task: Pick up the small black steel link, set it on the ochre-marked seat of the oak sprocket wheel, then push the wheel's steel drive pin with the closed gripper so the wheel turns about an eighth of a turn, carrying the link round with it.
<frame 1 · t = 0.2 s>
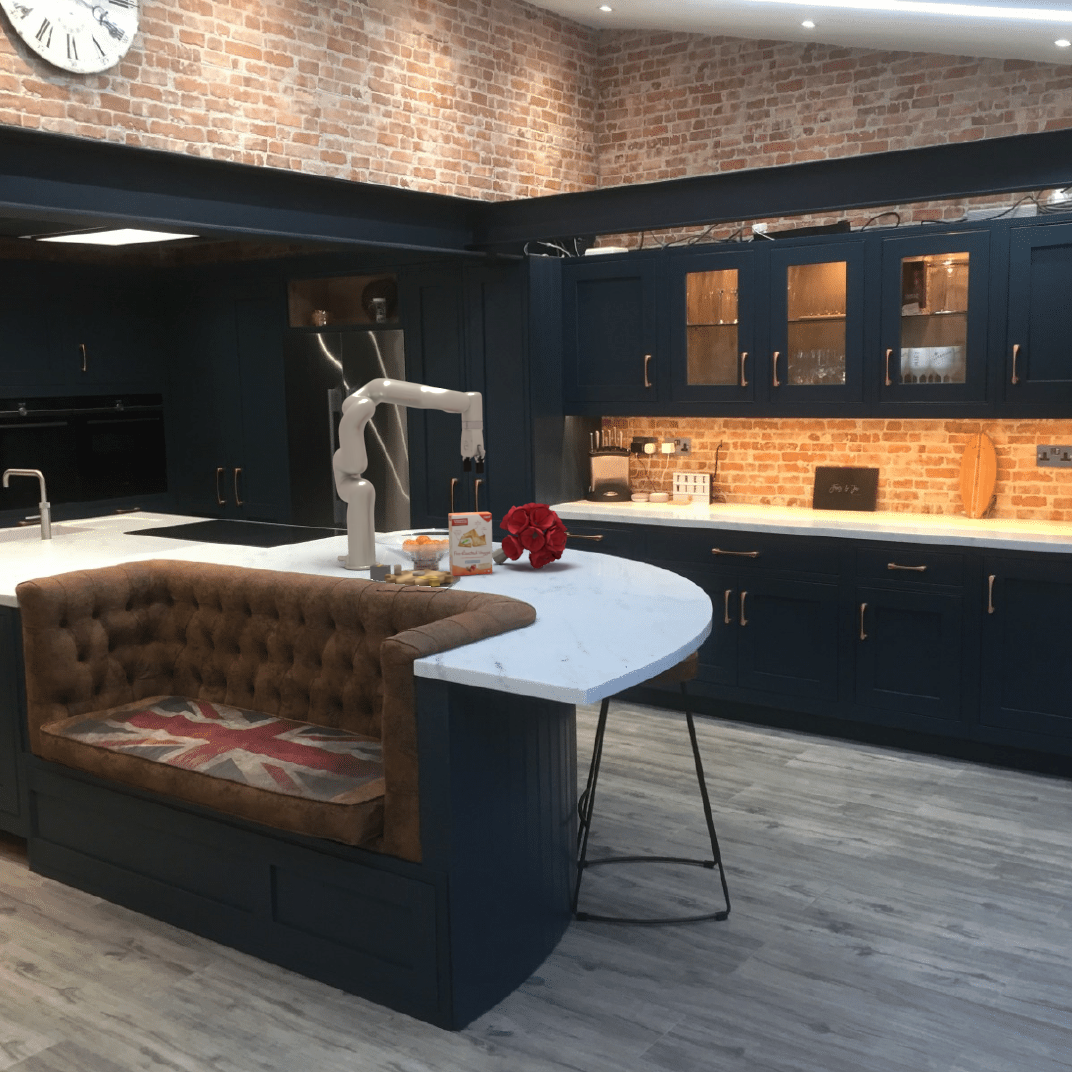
hand: (473, 472, 433), 31 cm above the counter, tool pointing down, fingers open, 9 cm apart
link: (380, 580, 389), on the counter
bouquet: (529, 567, 410), on the counter
bearing plate: (419, 585, 379), on the counter
cracker box: (471, 574, 398), on the counter
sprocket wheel: (418, 573, 378), point 4 cm above the counter, hinge at 0.0°
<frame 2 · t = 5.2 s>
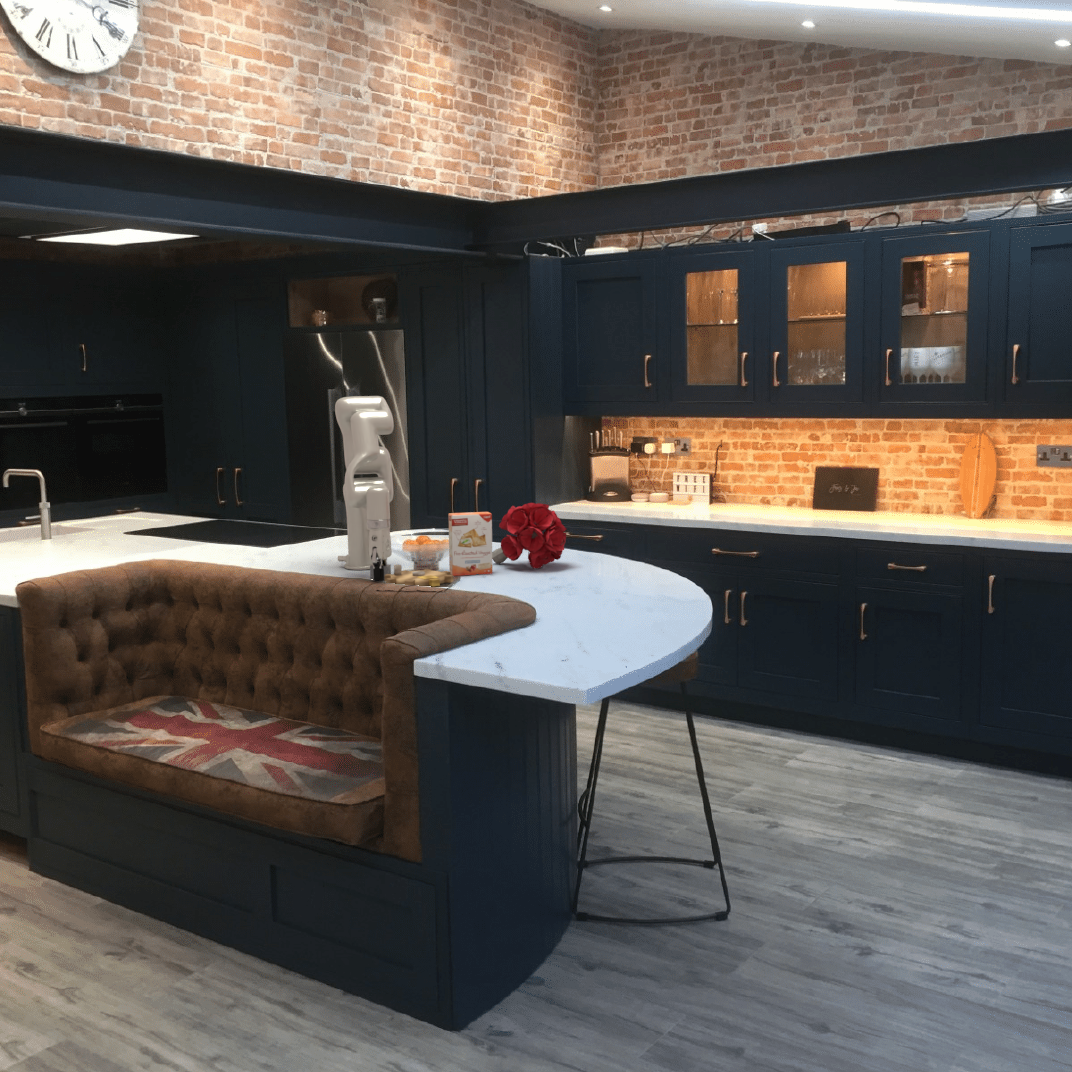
hand: (380, 578, 389), 0 cm above the counter, tool pointing down, fingers closed on link, 3 cm apart
link: (380, 580, 389), on the counter, touching gripper
everything else where it was.
when the fingers open (5 cm above the counter, at t = 9.1 s): link stays where it is, resting on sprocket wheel.
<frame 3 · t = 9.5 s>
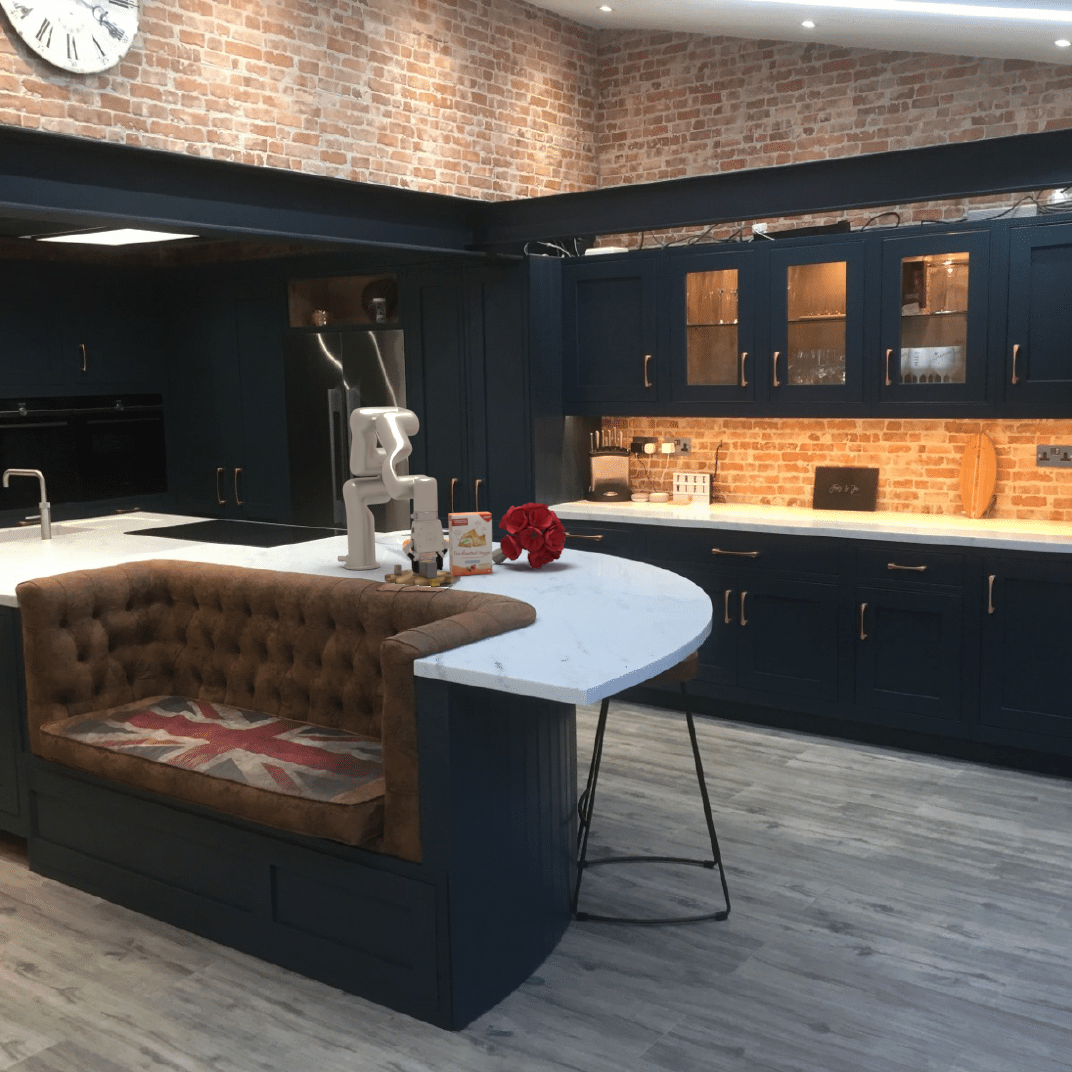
hand: (427, 570, 373), 5 cm above the counter, tool pointing down, fingers open, 8 cm apart
link: (427, 577, 373), point 3 cm above the counter, touching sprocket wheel
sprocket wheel: (418, 573, 378), point 4 cm above the counter, hinge at 0.0°, touching link
everything else where it was.
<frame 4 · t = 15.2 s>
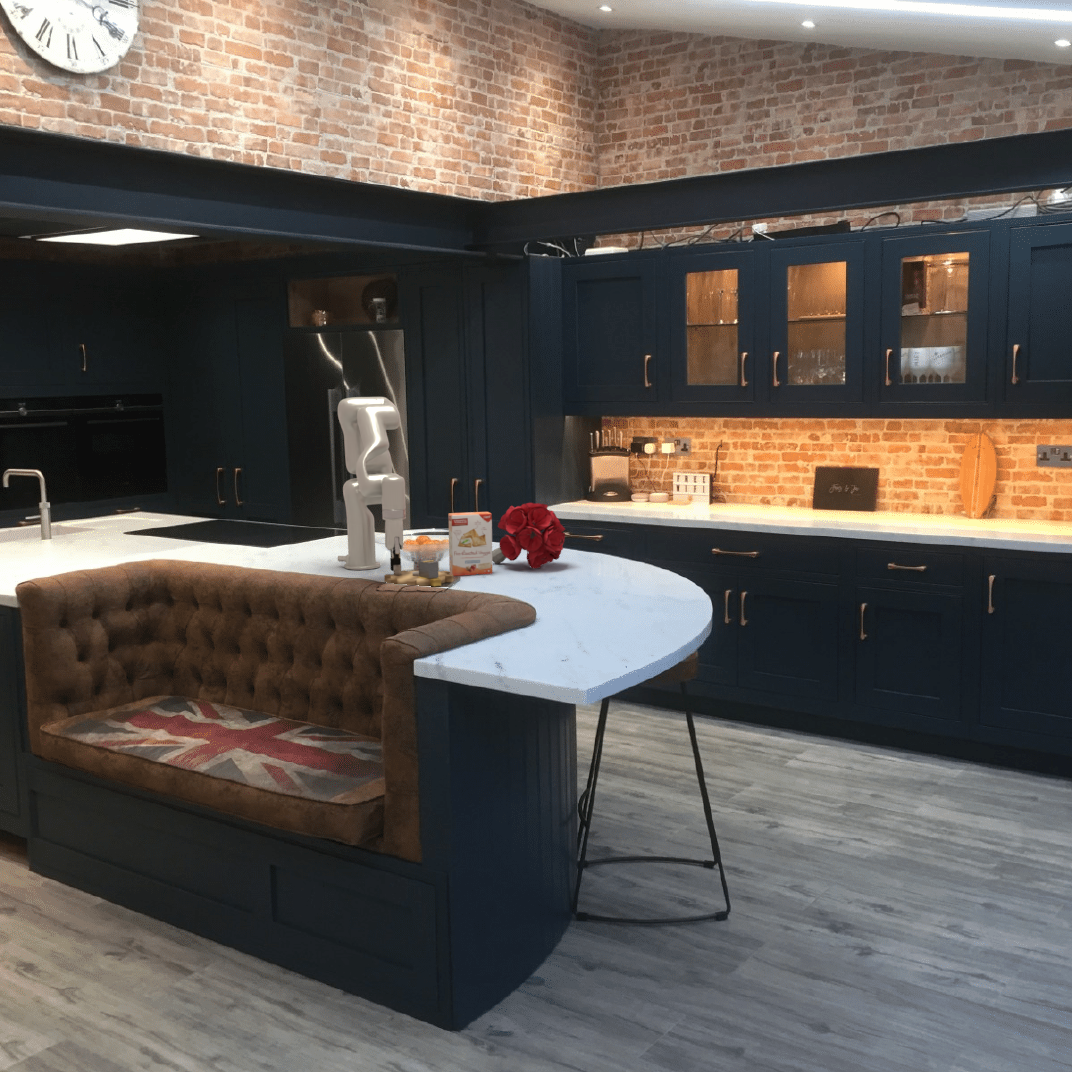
hand: (395, 570, 382), 4 cm above the counter, tool pointing down, fingers closed
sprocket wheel: (418, 573, 378), point 4 cm above the counter, hinge at 3.2°, touching gripper, link
everything else where it was.
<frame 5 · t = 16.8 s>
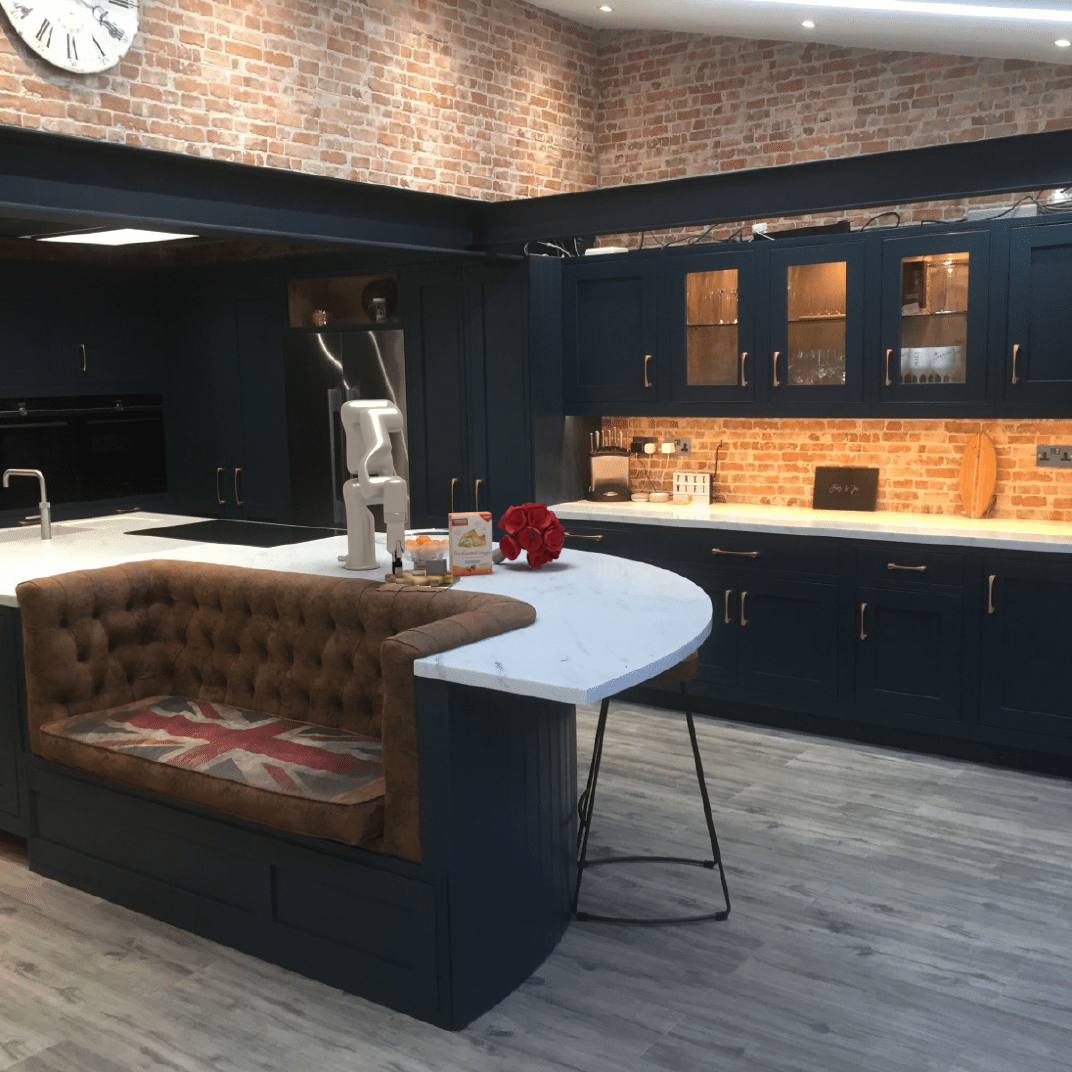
hand: (397, 573, 378), 4 cm above the counter, tool pointing down, fingers closed
link: (436, 574, 377), point 3 cm above the counter, touching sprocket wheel
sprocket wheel: (418, 573, 378), point 4 cm above the counter, hinge at 43.0°, touching gripper, link
everything else where it was.
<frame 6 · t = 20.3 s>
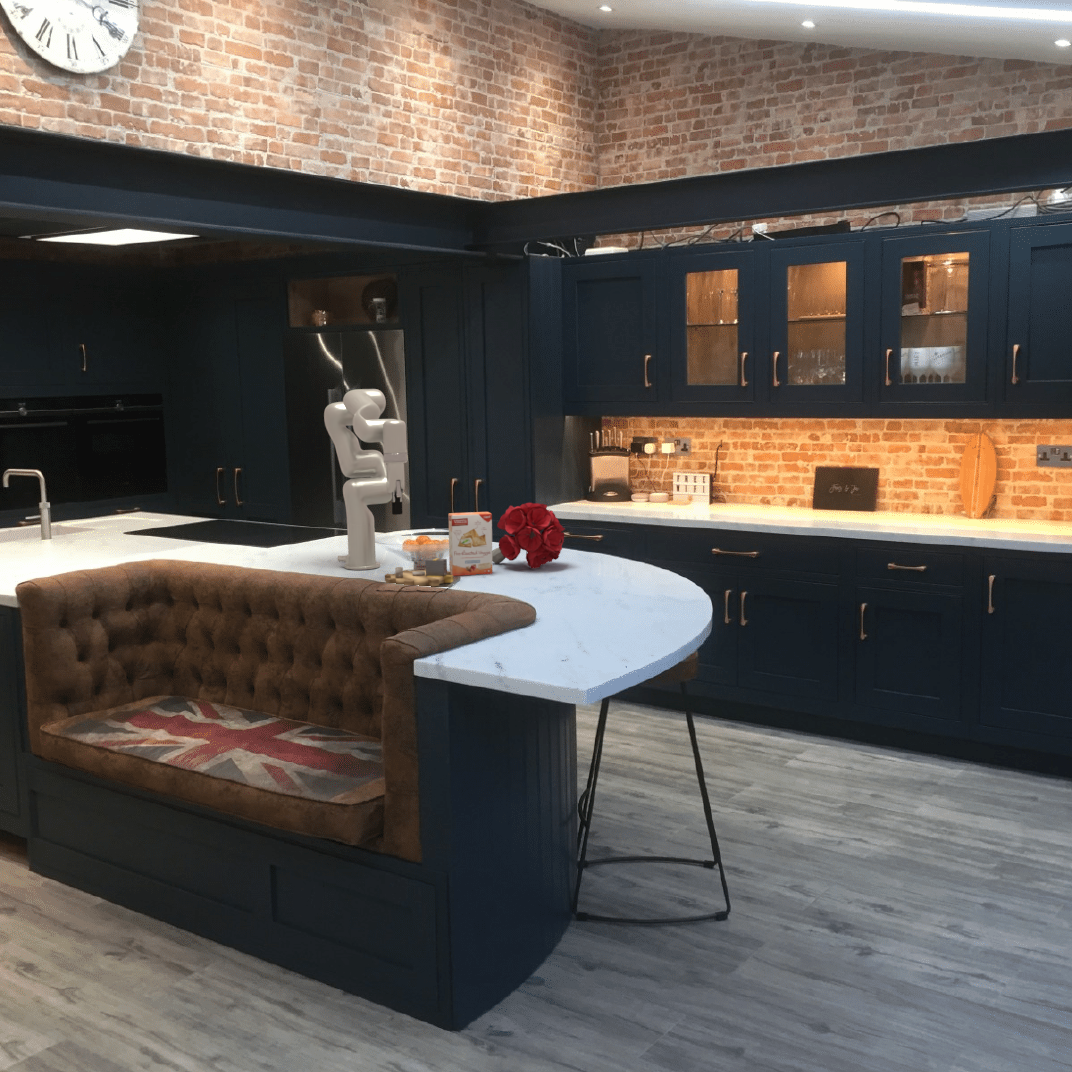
hand: (397, 514, 385), 22 cm above the counter, tool pointing down, fingers closed
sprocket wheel: (418, 573, 378), point 4 cm above the counter, hinge at 43.7°, touching link
everything else where it was.
at the end: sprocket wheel at +44° (first picture: +0°); link 6.0 cm from the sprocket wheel (horizontally); link point 3.5 cm above the counter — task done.
